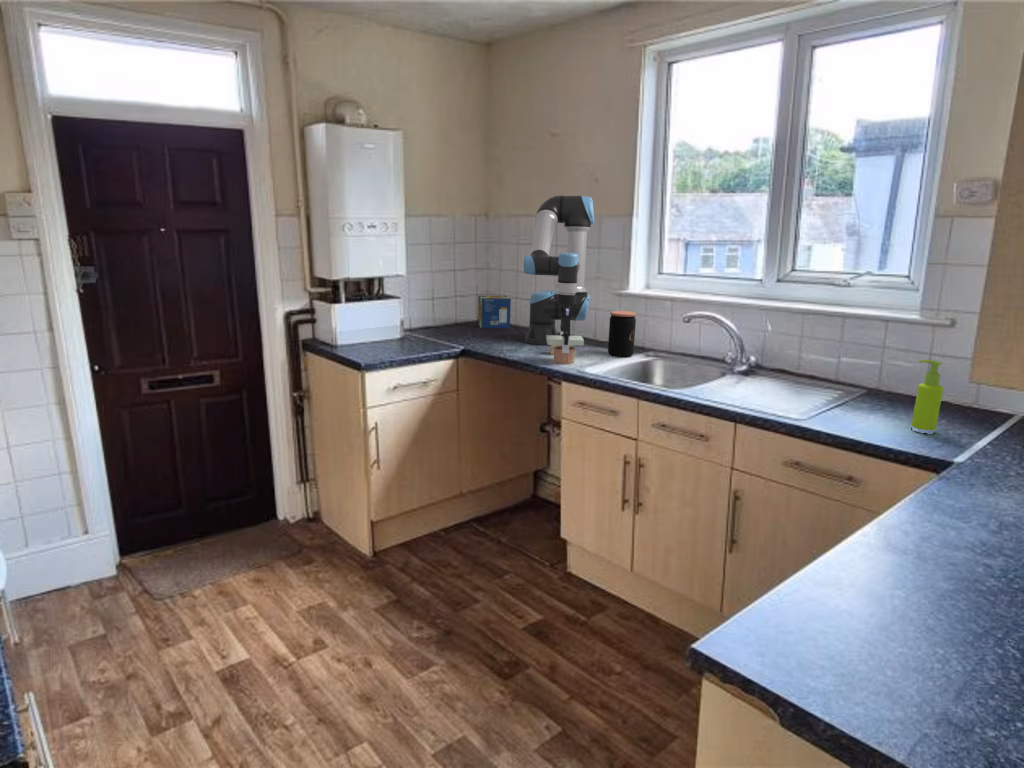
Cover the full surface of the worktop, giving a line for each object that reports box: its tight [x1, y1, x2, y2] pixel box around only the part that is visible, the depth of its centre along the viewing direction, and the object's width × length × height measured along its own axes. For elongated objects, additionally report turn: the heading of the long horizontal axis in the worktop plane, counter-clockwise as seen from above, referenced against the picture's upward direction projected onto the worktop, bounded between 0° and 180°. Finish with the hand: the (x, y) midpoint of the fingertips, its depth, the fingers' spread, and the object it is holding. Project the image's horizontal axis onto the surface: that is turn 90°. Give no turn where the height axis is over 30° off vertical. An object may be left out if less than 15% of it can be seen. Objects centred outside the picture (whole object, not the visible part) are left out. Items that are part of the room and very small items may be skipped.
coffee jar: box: [607, 310, 637, 358], centre depth 279 cm, size 11×11×18 cm
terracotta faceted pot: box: [553, 346, 576, 365], centre depth 265 cm, size 8×8×6 cm
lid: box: [546, 335, 585, 346], centre depth 264 cm, size 10×14×2 cm
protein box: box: [477, 295, 512, 329], centre depth 344 cm, size 10×15×16 cm
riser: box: [549, 345, 574, 356], centre depth 280 cm, size 6×9×6 cm, turn 90°
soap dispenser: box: [911, 359, 944, 430], centre depth 185 cm, size 6×7×20 cm
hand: (564, 350), depth 265 cm, fingers closed on lid, 10 cm apart
